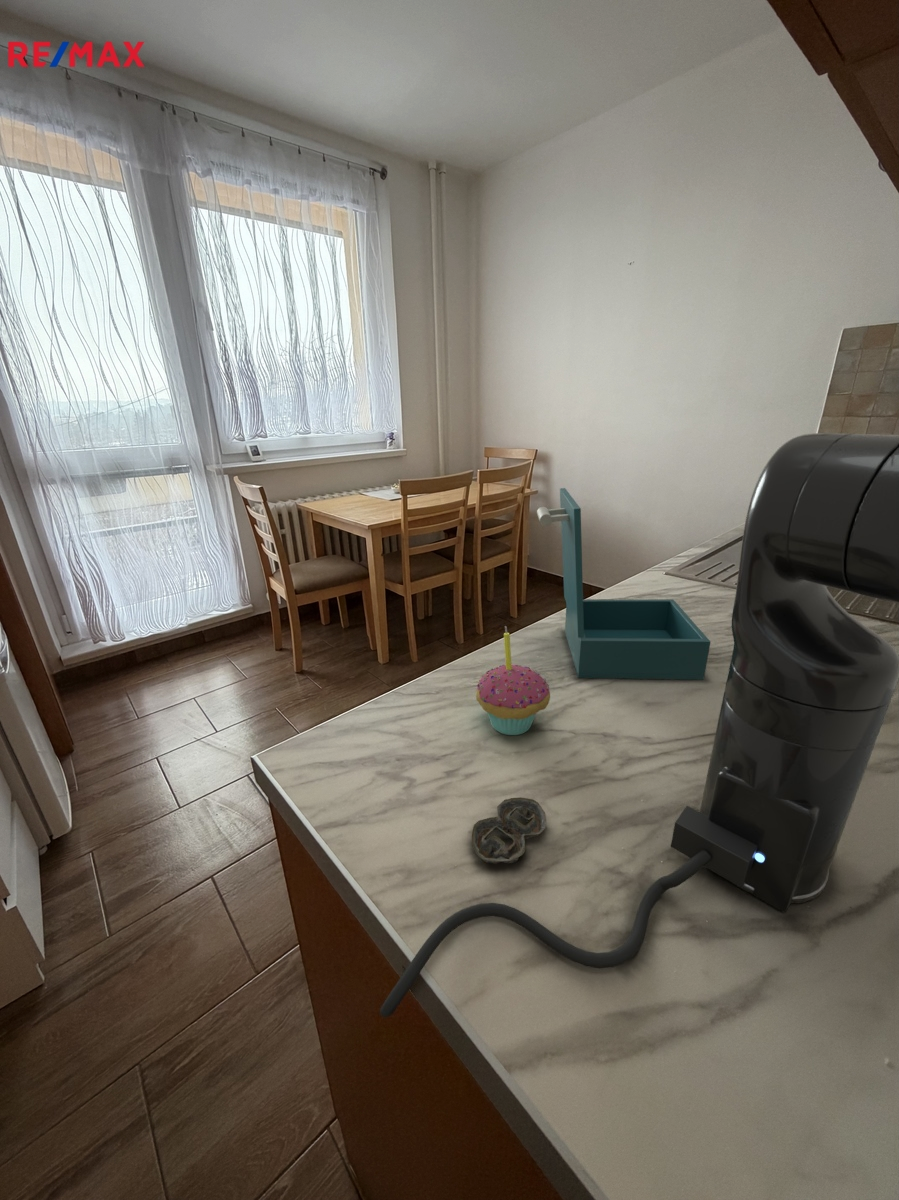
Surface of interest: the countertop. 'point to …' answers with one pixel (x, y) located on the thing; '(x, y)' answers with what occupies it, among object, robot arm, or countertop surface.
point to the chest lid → (569, 553)
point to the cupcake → (512, 695)
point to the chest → (637, 640)
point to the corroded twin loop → (508, 830)
